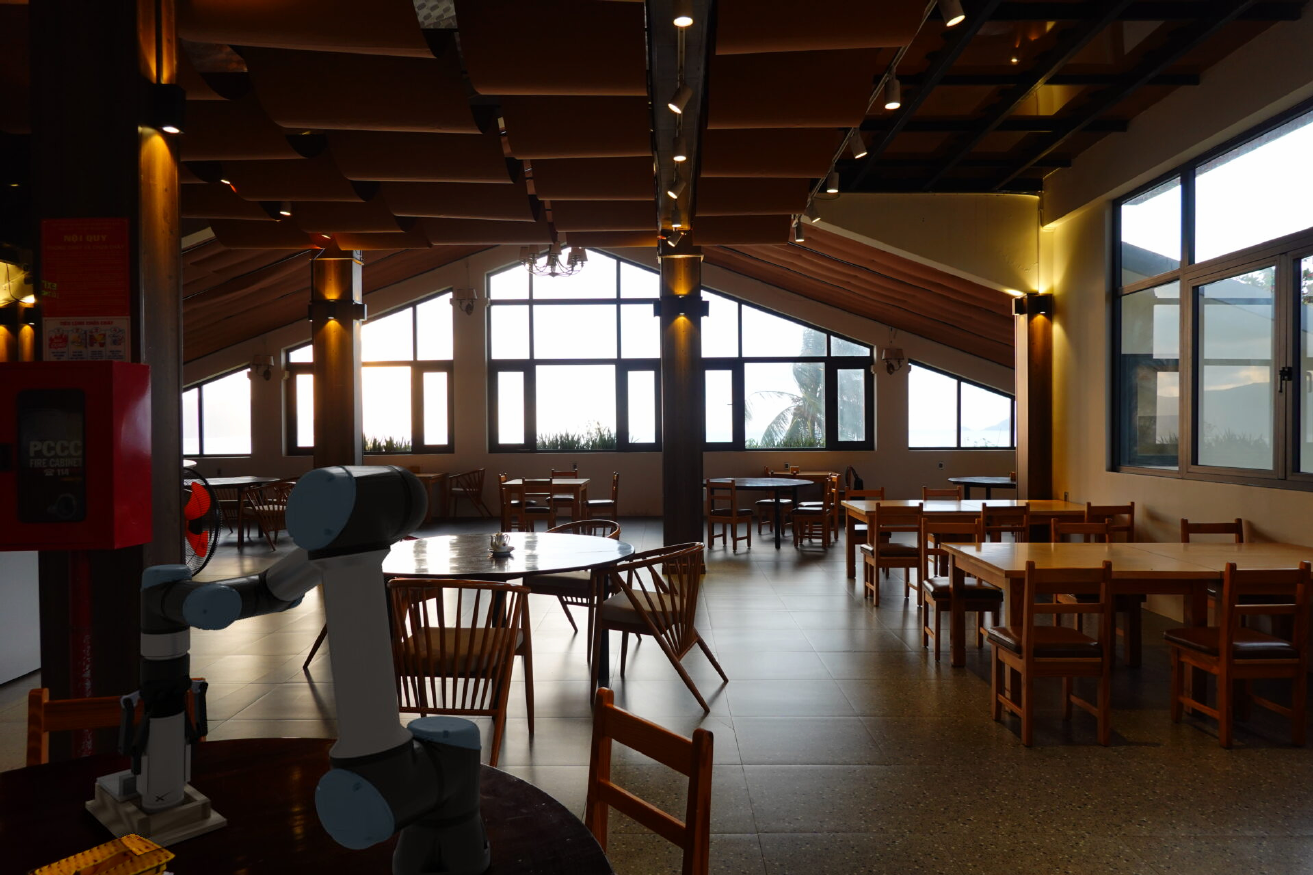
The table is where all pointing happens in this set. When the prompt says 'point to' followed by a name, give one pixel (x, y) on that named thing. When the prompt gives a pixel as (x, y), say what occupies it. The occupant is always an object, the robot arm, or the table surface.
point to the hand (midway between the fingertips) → (163, 785)
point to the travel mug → (165, 756)
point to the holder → (156, 817)
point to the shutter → (120, 785)
